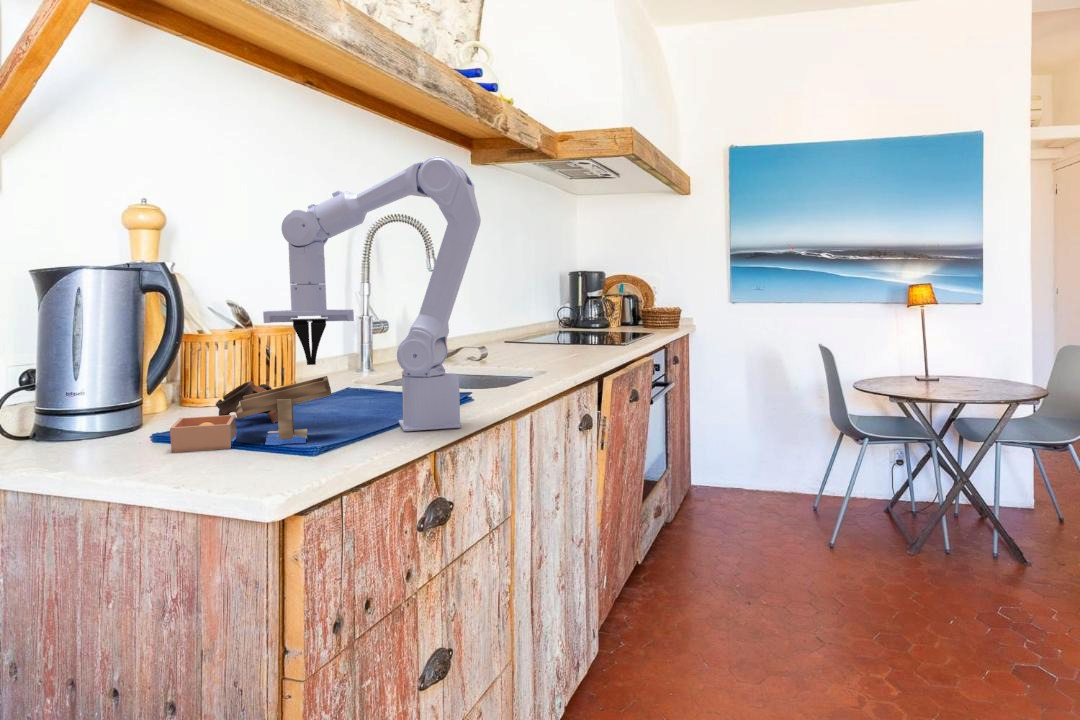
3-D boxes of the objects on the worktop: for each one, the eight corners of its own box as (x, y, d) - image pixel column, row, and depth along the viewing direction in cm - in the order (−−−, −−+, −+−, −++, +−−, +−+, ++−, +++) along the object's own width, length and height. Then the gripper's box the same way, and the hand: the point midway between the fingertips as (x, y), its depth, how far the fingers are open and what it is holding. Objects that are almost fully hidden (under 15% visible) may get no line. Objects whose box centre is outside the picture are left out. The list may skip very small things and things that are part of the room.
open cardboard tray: (236, 437, 115) (235, 414, 114) (231, 448, 107) (229, 424, 107) (181, 440, 113) (179, 418, 112) (171, 452, 105) (169, 428, 105)
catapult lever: (330, 384, 123) (326, 371, 122) (331, 394, 112) (327, 379, 112) (241, 407, 119) (237, 393, 118) (233, 419, 108) (229, 404, 108)
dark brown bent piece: (273, 430, 123) (244, 390, 120) (229, 452, 125) (199, 414, 122) (298, 400, 134) (272, 364, 131) (257, 421, 136) (231, 385, 133)
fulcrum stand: (307, 432, 118) (305, 391, 117) (306, 443, 110) (304, 399, 110) (268, 435, 116) (266, 393, 115) (264, 446, 109) (262, 401, 108)
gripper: (351, 283, 128) (353, 360, 130) (263, 284, 124) (267, 363, 125) (353, 284, 121) (355, 364, 123) (260, 284, 117) (264, 368, 119)
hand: (311, 364), depth 124 cm, fingers closed
